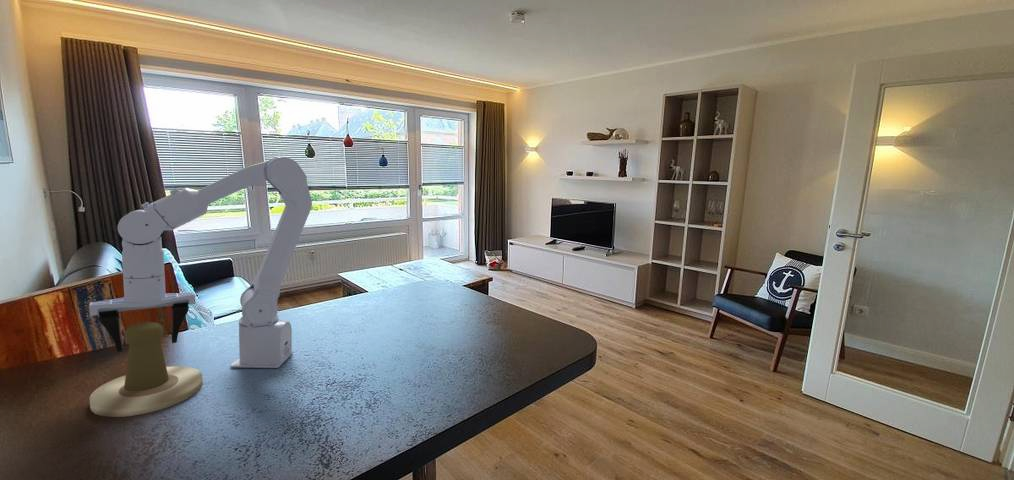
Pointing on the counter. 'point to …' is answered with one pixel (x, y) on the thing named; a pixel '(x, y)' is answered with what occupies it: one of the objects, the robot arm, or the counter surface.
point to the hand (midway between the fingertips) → (147, 345)
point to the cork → (145, 357)
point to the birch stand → (145, 394)
